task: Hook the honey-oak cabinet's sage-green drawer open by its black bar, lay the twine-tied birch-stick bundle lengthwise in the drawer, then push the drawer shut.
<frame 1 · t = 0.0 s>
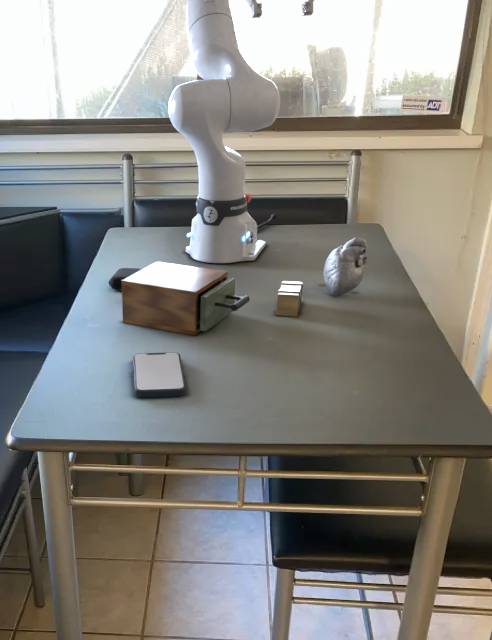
hand: (282, 15, 145), 52 cm above the table, tool tilted 20°, fingers open, 8 cm apart
bundle: (288, 308, 172), on the table
cabinet: (175, 317, 169), on the table
smartphone: (158, 379, 144), on the table
carrying case: (142, 288, 186), on the table
drawer: (196, 300, 164), point 4 cm above the table, slide at 0.8 cm
heart: (339, 292, 180), on the table
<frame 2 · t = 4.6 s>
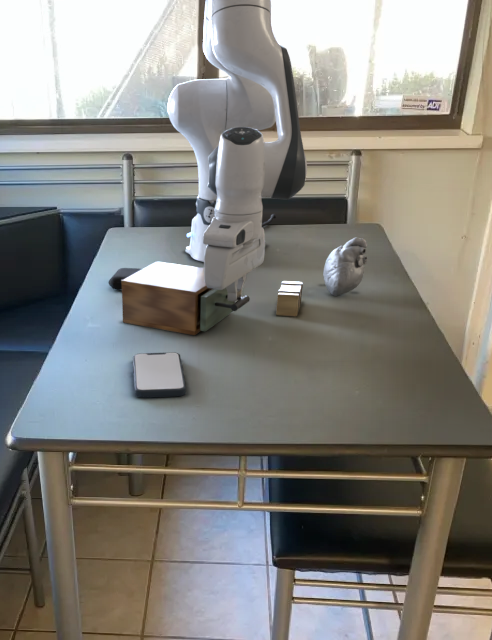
hand: (234, 299, 160), 6 cm above the table, tool pointing down, fingers closed, pressing on drawer
drawer: (197, 300, 164), point 4 cm above the table, slide at 0.8 cm, touching gripper
everything else where it was.
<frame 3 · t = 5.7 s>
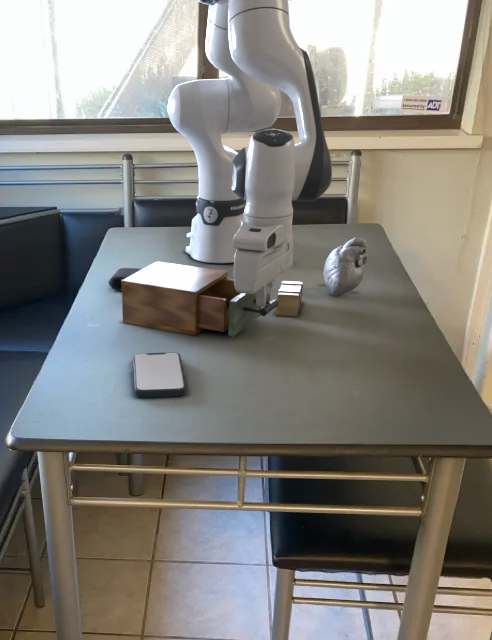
hand: (263, 304, 157), 6 cm above the table, tool pointing down, fingers closed, pressing on drawer
drawer: (224, 304, 162), point 4 cm above the table, slide at 6.9 cm, touching gripper
everything else where it was.
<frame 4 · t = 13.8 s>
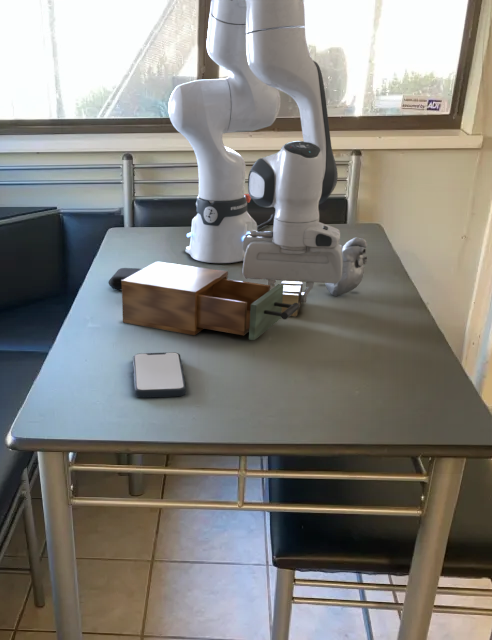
hand: (289, 301, 171), 2 cm above the table, tool pointing down, fingers closed on bundle, 4 cm apart
bundle: (288, 308, 172), on the table, touching gripper
drawer: (244, 308, 160), point 4 cm above the table, slide at 11.2 cm
everything else where it was.
when the fingers open (3 cm above the table, at t = 20.5 s): bundle stays where it is, resting on drawer.
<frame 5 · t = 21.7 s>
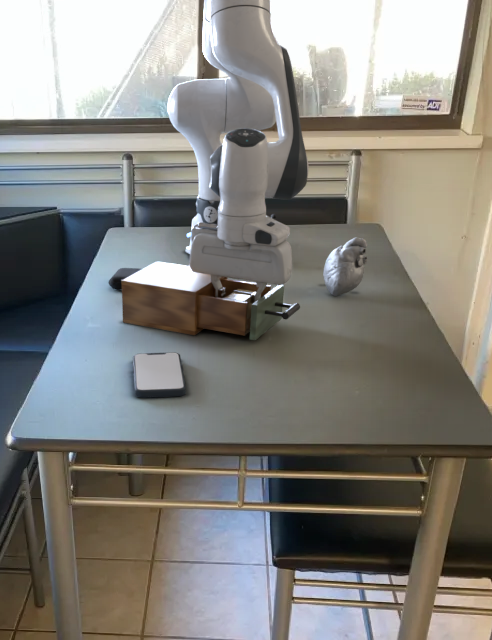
hand: (237, 300, 160), 6 cm above the table, tool pointing down, fingers open, 6 cm apart
bundle: (237, 318, 162), point 2 cm above the table, touching drawer
drawer: (244, 308, 160), point 4 cm above the table, slide at 11.3 cm, touching bundle
everything else where it was.
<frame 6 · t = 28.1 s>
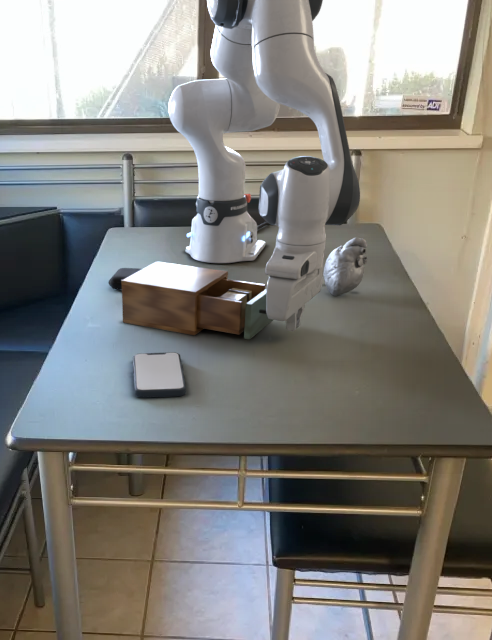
hand: (292, 328, 157), 2 cm above the table, tool pointing down, fingers closed, pressing on drawer
bundle: (231, 317, 162), point 2 cm above the table, touching drawer
drawer: (239, 307, 160), point 4 cm above the table, slide at 10.2 cm, touching bundle, gripper
everything else where it was.
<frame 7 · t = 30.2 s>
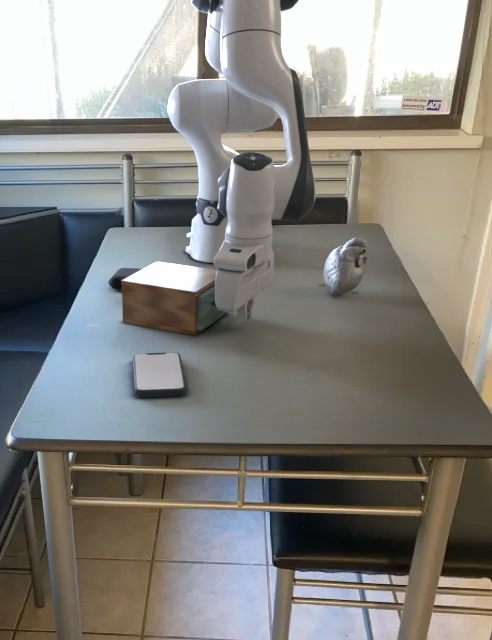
hand: (244, 320, 161), 2 cm above the table, tool pointing down, fingers closed, pressing on drawer
bundle: (186, 310, 167), point 2 cm above the table, touching drawer
drawer: (193, 299, 165), point 4 cm above the table, slide at 0.0 cm, touching bundle, cabinet, gripper
everything else where it was.
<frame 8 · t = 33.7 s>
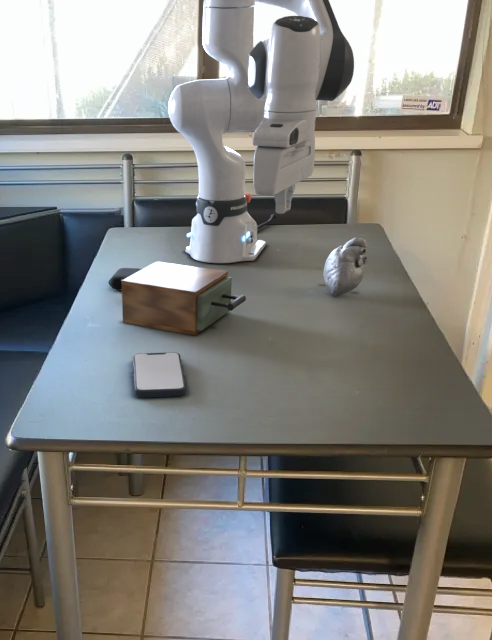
hand: (282, 212, 149), 22 cm above the table, tool pointing down, fingers closed
drawer: (193, 299, 165), point 4 cm above the table, slide at 0.0 cm, touching bundle
everything else where it was.
at the end: drawer pulled out 11.5 cm at the most during the clip, back to where it started at the end; bundle inside the target area in the cabinet (2.2 cm from its centre), point 2.0 cm above the cabinet's base; drawer slide at 0.0 cm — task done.
